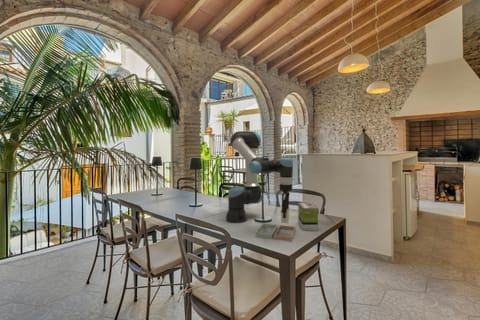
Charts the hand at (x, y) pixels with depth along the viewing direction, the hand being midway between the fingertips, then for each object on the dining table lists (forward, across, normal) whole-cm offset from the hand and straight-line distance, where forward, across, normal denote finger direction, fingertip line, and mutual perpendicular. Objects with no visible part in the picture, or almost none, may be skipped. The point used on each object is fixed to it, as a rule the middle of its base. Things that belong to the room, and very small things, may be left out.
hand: (285, 221), depth 149 cm
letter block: (0, 0, 0) cm, 0 cm away
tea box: (+8, +20, -12) cm, 24 cm away
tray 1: (+8, 0, +11) cm, 14 cm away
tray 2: (+8, 0, 0) cm, 8 cm away
